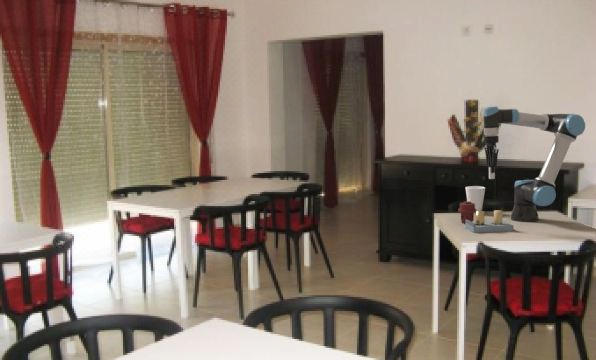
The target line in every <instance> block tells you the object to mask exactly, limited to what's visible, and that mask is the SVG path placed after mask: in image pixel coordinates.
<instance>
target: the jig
mask: <svg viewBox="0 0 596 360" xmlns="http://www.w3.org/2000/svg"><path fill="white" fill-rule="evenodd" d="M464 224H465V227H464V228H465V229H466V230H468V231H469V232H472V233H475V234H478V233H498V232H500V233H501V231H502V232H514V225H513V224H512V223H509V222H507V221H504V220H503V210H500V209H499V210H498V209H497V210H495V209H494V210H493V221H484V225H483V226H477V225H476V221H475V222H473V221H472V222H471V221H469V220H467V219H466V220H465V223H464Z"/></svg>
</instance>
